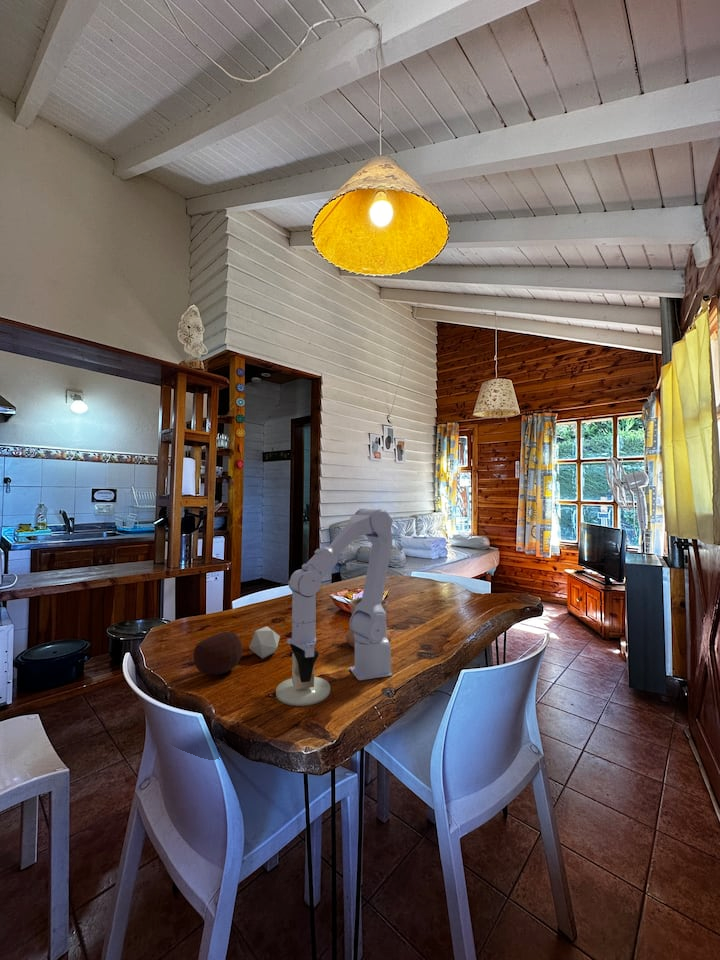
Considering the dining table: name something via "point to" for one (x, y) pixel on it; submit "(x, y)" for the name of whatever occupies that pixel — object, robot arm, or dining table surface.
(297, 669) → the block
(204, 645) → the potato
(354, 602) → the ceramic jug
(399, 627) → the dining table surface
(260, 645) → the die
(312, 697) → the plate
